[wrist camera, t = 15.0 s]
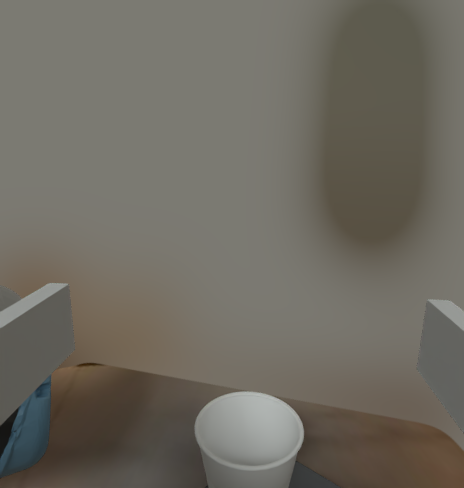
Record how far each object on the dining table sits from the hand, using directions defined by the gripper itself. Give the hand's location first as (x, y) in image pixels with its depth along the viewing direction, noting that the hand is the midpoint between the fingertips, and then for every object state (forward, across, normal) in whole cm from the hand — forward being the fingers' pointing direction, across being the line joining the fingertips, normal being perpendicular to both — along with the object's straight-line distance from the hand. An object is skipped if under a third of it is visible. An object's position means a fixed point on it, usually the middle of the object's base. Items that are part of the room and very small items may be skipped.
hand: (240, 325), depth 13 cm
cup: (+16, 0, -29) cm, 33 cm away
